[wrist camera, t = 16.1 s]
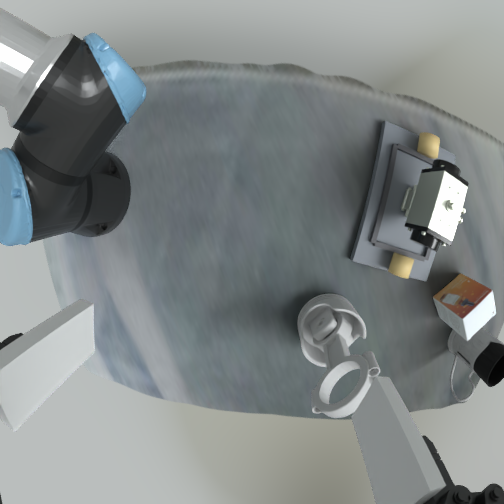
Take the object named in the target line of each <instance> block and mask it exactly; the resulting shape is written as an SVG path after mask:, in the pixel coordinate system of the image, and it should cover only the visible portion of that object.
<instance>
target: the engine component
mask: <svg viewBox="0 0 504 504" xmlns="http://www.w3.org/2000/svg"><path fill="white" fill-rule="evenodd" d="M297 325H298V332H299V337H300V343H301V348H302V351H303V353H304V355H305V357H306V358H307V359H308V360H309V361H310V362H312V363H314V364H316V365H318V366H322V367H327V370H326V372H325V373H324V374H323V375H322V377H321V378H320V380H319V382H318V384H317V386H316V388H315V389H313V390H312V391H311V399H312V411H313V412H314V413H322V412H323V413H324V414H326V415H327V416H329V417H332V418H340V417H344V416H347V415H349V414H351V413H353V412H355V411H356V409H357V408H358V406H359V405H360V403H361V401H362V400H363V398H364V396H365V395H366V393H367V391H368V389H369V388H370V386H371V384H372V382H373V381H374V379H375V377H376V376H377V375H378V374H379V373H380V368H379V366H378V363H377V361H376V359H375V356H374V354H373V352H371V351H367V352H365V353H364V354H363V355H362V356H361V355H350V353H349V349H348V347H349V346H350V345H351V344H352V343H353V342H354V341H355V340H356V339H357V338H358V337H360V336H361V337H362V338H363V339H365V338H366V327H365V324H364V322H363V320H362V319H361V317H360V316H359V314H358V313H357V311H356V310H355V309H354V307H353V306H352V304H351V303H350V302H349V301H348V300H347V299H346V298H344V297H343V296H341V295H337V294H331V293H330V294H322V295H319V296H316V297H314V298H313V299H311V300H310V301H308V302H307V303H306V304H305V305H304V306H303V308H302V309H301V311H300V313H299V316H298V321H297ZM354 369H360V370H361V372H360V378H359V381H358V383H357V385H356V387H355V388H354V389H353V391H352V392H351V393H350V394H349V395H348V396H347V397H346V398H344V399H343V400H341V401H339V402H337V403H334V404H329V396H330V392H331V390H332V388H333V386H334V385H335V383H336V382H337V381H338V380H339V379H340V378H341V377H342V376H343V375H344V374H346V373H347V372H349V371H351V370H354Z"/></svg>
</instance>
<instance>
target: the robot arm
mask: <svg viewBox="0 0 504 504" xmlns="http://www.w3.org/2000/svg"><path fill="white" fill-rule="evenodd" d="M145 97H146V87H145V85H144V83H143V82H142V80H141V79H140V78H139V76H138V75H137V74H136V73H135V72H134V70H133V69H132V68H131V67H130V66H129V65H128V64H127V63H126V61H124V59H123V58H122V57H121V56H120V55H119V54H118V53H117V52H116V51H115V50H114V49H113V48H111V47H110V46H109V45H108V44H107V43H106V42H105V41H104V40H103V39H102V38H101V37H100V36H98V35H97V34H95V33H90V34H89V35H87V36H85V37H84V38H83V41H82V40H80V39H79V38H77V37H76V36H75V35H73V34H67V35H63V36H60V37H52V38H51V37H50V36H48V35H46V34H45V33H43V32H41V31H40V30H38V29H36V28H35V27H33V26H31V25H30V24H28V23H26V22H24V21H23V20H21V19H19V18H18V17H16V16H14V15H12V14H10V13H9V12H7V11H5V10H3V9H1V8H0V105H1V106H3V107H5V109H6V110H7V114H8V119H9V124H10V126H11V127H13V128H15V129H17V130H19V131H20V133H19V135H18V136H17V139H16V140H15V143H14V144H13V146H12V148H11V149H9V148H3V149H2V150H0V243H1V244H3V245H7V246H13V245H18V244H23V245H26V244H28V243H30V242H33V241H37V240H41V239H45V238H48V237H52V236H56V235H60V234H63V233H67V232H72V233H75V234H79V235H82V236H86V237H96V236H100V235H104V234H107V233H109V232H111V231H112V230H113V229H115V228H116V227H117V226H118V225H119V224H120V222H121V221H122V219H123V218H124V216H125V214H126V211H127V209H128V205H129V201H130V180H129V176H128V173H127V170H126V168H125V166H124V165H123V163H122V162H121V161H120V159H119V158H117V157H116V156H115V155H113V154H111V153H109V152H105V150H106V149H107V148H108V146H109V145H110V144H111V142H112V141H113V140H114V138H115V137H116V136H117V135H118V133H119V132H120V131H121V130H122V128H123V127H124V126H125V125H126V124H128V123H129V121H130V118H131V116H132V115H133V114H134V113H135V111H136V110H137V109H138V108H139V106H140V105H141V104H142V103H143V101H144V100H145ZM94 352H95V343H94V304H93V303H90V302H88V301H86V300H83V299H80V300H78V301H76V302H75V303H73V304H71V305H70V306H68V307H66V308H65V309H63V310H62V311H60V312H58V313H57V314H55V315H54V316H52V317H51V318H49V319H47V320H46V321H44V322H42V323H41V324H39V325H38V326H36V327H35V328H33V329H31V330H30V331H29V332H27V333H25V334H24V335H23V334H22V333H19V334H16V335H12V336H10V337H8V338H7V339H5V340H4V341H3V342H2V343H1V342H0V418H1V420H2V421H3V422H4V423H5V424H6V425H7V426H8V427H9V428H11V429H12V430H13V431H14V432H16V431H17V429H18V428H19V427H20V426H21V425H22V424H23V423H24V422H25V421H26V420H27V419H28V418H29V417H30V416H31V415H32V414H33V413H34V412H35V410H36V409H38V408H39V406H40V405H41V404H42V403H43V402H44V401H45V400H46V399H47V398H48V397H49V396H50V395H51V394H52V393H53V392H54V391H55V390H56V389H57V388H58V387H59V386H60V385H61V384H62V383H63V382H64V381H65V380H66V379H67V378H68V377H69V376H70V375H71V374H73V373H74V372H75V371H76V370H77V369H78V367H80V366H81V365H82V364H83V363H84V362H85V361H86V360H87V359H88V358H89V357H90V356H91V355H92V354H93V353H94ZM351 418H352V420H353V424H354V428H355V431H356V434H357V438H358V441H359V444H360V447H361V451H362V454H363V458H364V461H365V465H366V468H367V472H368V476H369V479H370V483H371V487H372V490H373V494H374V498H375V502H376V504H504V491H503V489H502V487H500V486H499V485H497V484H490V485H489V486H487V487H486V488H485V489H484V490H483V491H482V492H474V493H471V492H470V491H469V490H468V489H467V488H466V487H464V486H461V485H457V486H455V485H454V484H453V482H452V480H451V478H450V476H449V474H448V472H447V470H446V468H445V466H444V464H443V462H442V460H440V459H441V458H440V456H439V454H438V453H437V450H436V448H435V446H434V445H433V443H432V442H431V441H430V440H429V439H428V438H427V437H426V436H422V435H421V433H420V432H419V430H418V428H417V426H416V424H415V422H414V421H413V419H412V417H411V415H410V413H409V411H408V409H407V408H406V406H405V404H404V402H403V400H402V399H401V397H400V395H399V393H398V392H397V390H396V388H395V386H394V385H393V383H392V381H391V380H390V378H389V377H380V376H376V377H375V379H374V381H373V382H372V384H371V386H370V388H369V389H368V391H367V393H366V395H365V396H364V398H363V400H362V401H361V403H360V405H359V406H358V408H357V409H356V411H355V412H354V414H353V416H352V417H351ZM0 504H2V500H1V495H0Z"/></svg>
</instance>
